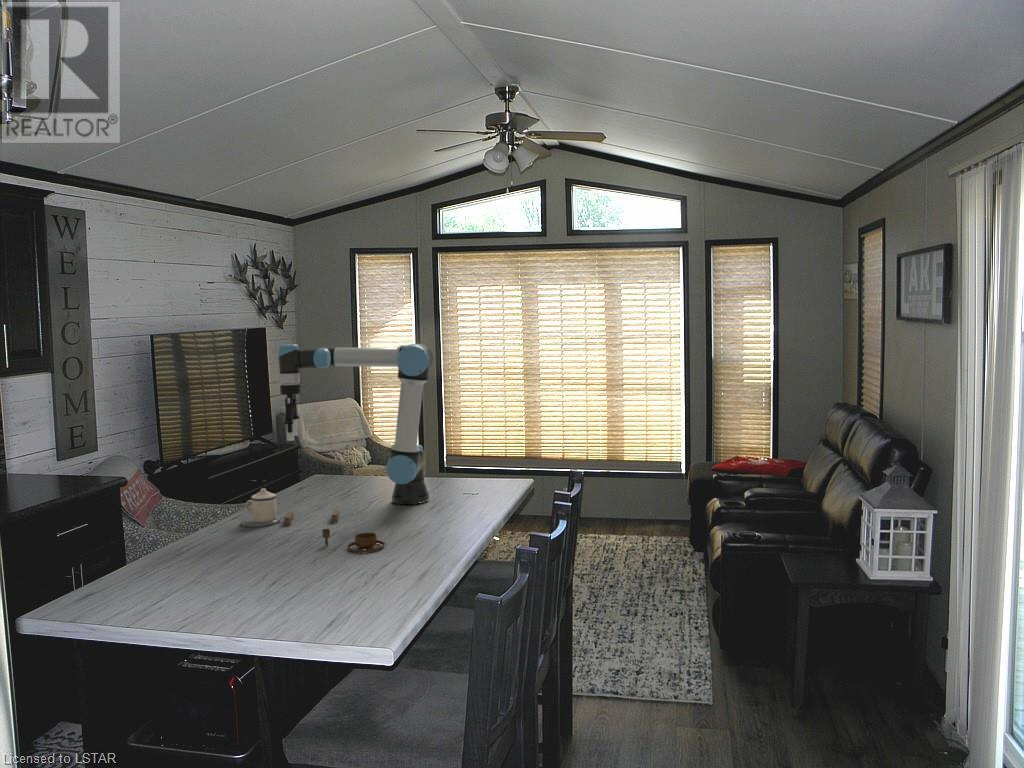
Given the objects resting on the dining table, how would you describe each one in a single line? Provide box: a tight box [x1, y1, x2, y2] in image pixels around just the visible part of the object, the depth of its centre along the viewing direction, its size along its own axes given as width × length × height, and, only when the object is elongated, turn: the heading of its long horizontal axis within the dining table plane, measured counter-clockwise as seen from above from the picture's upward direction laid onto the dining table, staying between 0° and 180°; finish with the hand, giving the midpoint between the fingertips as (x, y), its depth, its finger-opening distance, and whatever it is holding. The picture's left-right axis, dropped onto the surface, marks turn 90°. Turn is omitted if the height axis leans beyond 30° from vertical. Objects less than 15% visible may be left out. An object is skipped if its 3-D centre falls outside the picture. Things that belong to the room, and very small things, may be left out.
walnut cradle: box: [284, 507, 340, 526], centre depth 311 cm, size 19×10×3 cm, turn 98°
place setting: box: [321, 528, 385, 554], centre depth 275 cm, size 18×20×6 cm
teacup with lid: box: [245, 488, 278, 522], centre depth 310 cm, size 12×9×12 cm
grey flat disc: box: [240, 516, 281, 528], centre depth 310 cm, size 14×14×1 cm
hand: (292, 438), depth 326 cm, fingers open, 13 cm apart
